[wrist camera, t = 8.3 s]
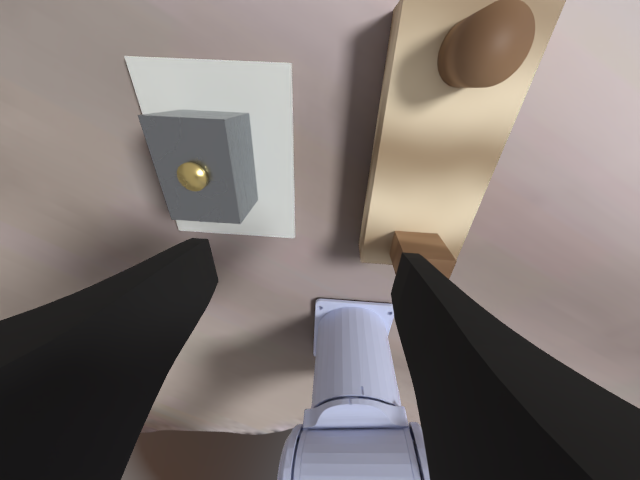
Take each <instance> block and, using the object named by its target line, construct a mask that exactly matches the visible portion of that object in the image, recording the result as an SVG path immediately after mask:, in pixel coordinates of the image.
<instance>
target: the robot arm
mask: <svg viewBox="0 0 640 480" xmlns="http://www.w3.org/2000/svg"><path fill="white" fill-rule="evenodd" d="M217 283H218V277H217V273H216V269H215V265H214V261H213V256H212V252H211V248H210V244H209V240H208V239H198V238H192V239H189V240H186V241H184V242H182V243H180V244H178V245H175V246H173V247H171V248H169V249H167V250H165V251H163V252H161V253H159V254H157V255H155V256H153V257H151V258H149V259H147V260H145V261H143V262H141V263H139V264H137V265H135V266H133V267H131V268H129V269H127V270H125V271H123V272H121V273H118V274H116V275H114V276H112V277H110V278H108V279H105V280H103V281H101V282H99V283H97V284H95V285H92V286H90V287H88V288H86V289H83V290H81V291H78V292H76V293H74V294H71V295H69V296H66V297H64V298H61V299H59V300H56V301H54V302H51V303H49V304H46V305H43V306H41V307H38V308H35V309H33V310H30V311H27V312H24V313H21V314H18V315H15V316H13V317H10V318H7V319H4V320H1V321H0V480H121V478H122V475H123V473H124V470H125V468H126V465H127V463H128V461H129V458H130V455H131V453H132V451H133V449H134V446H135V443H136V441H137V439H138V437H139V434H140V432H141V430H142V428H143V426H144V423H145V421H146V419H147V417H148V414H149V412H150V410H151V408H152V405H153V403H154V401H155V399H156V397H157V395H158V393H159V391H160V389H161V387H162V384H163V382H164V380H165V378H166V376H167V374H168V372H169V370H170V368H171V367H172V365H173V363H174V361H175V359H176V358H177V356H178V354H179V353H180V351H181V349H182V348H183V346H184V344H185V343H186V341H187V340H188V338H189V336H190V335H191V333H192V331H193V330H194V328H195V326H196V325H197V323H198V321H199V320H200V318H201V316H202V315H203V313H204V311H205V309H206V308H207V306H208V304H209V302H210V300H211V298H212V295H213V293H214V291H215V288H216V286H217ZM391 297H392V304H388V303H374V302H361V301H348V300H334V299H317V300H316V303H315V327H314V351H313V355H314V356H315V357H316V359H315V371H314V382H313V394H312V406H311V409H305V411H304V421H303V424H298V425H296V426H295V427H294V428H293V430H292V432H291V434H290V435H289V437H288V438H287V440H286V442H285V444H284V447H283V450H282V455H281V459H280V463H279V469H278V477H277V480H640V409H639V408H637V407H636V406H634V405H632V404H630V403H628V402H626V401H625V400H623V399H621V398H620V397H618V396H616V395H614V394H613V393H611V392H609V391H607V390H606V389H604V388H602V387H601V386H599V385H597V384H595V383H594V382H592V381H590V380H589V379H587V378H586V377H584V376H582V375H581V374H579V373H577V372H576V371H574V370H573V369H571V368H569V367H568V366H566V365H564V364H563V363H561V362H560V361H558V360H556V359H555V358H553V357H552V356H550V355H549V354H547V353H546V352H544V351H542V350H541V349H539V348H538V347H536V346H535V345H534V344H532V343H531V342H529V341H528V340H526V339H525V338H523V337H522V336H520V335H519V334H518V333H516V332H515V331H513V330H512V329H510V328H509V327H508V326H506V325H505V324H503V323H502V322H501V321H499V320H498V319H497V318H495V317H494V316H493V315H492V314H490V313H489V312H488V311H486V310H485V309H484V308H483V307H481V306H480V305H479V304H477V303H476V302H475V301H474V300H473V299H471V298H470V297H469V296H468V295H467V294H465V293H464V292H463V291H462V290H461V289H459V288H458V287H457V286H456V285H455V284H454V283H452V282H451V281H450V280H449V279H448V278H447V277H446V276H445V275H443V274H442V273H441V272H440V271H439V270H438V269H437V268H436V267H434V266H433V265H432V264H431V263H430V262H429V261H428V260H426V259H425V258H424V257H423V256H422V255H420V254H419V253H404V252H402V254H401V258H400V262H399V266H398V269H397V273H396V277H395V280H394V284H393V288H392V292H391ZM319 306H321V307H319ZM394 317H395V321H396V325H397V329H398V332H399V336H400V340H401V343H402V347H403V350H404V354H405V357H406V361H407V364H408V368H409V371H410V375H411V378H412V382H413V386H414V391H415V395H416V400H417V406H418V411H419V416H420V422H421V427H422V428H421V427H420V425H419V424H418V423H417V422H409V425H408V420H407V415H406V411H405V407H404V406H401V401H400V396H399V391H398V386H397V381H396V376H395V371H394V366H393V361H392V356H391V351H390V346H389V341H388V334H389V331H390V328H391V324H392V321H393V318H394Z"/></svg>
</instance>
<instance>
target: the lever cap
mask: <svg viewBox="0 0 640 480" xmlns="http://www.w3.org/2000/svg"><path fill="white" fill-rule="evenodd" d="M138 117H139V120H140V123H141V127H142V130H143V133H144V136H145V139H146V142H147V145H148V148H149V151H150V154H151V157H152V161H153V164H154V167H155V170H156V173H157V176H158V179H159V182H160V185H161V188H162V191H163V194H164V198H165V201H166V204H167V207H168V210H169V213H170V216H171V219H172V220H185V221H200V222H215V223H231V224H241V223H242V222H243V220H244V219H245V217H246V216H247V215H248V213H249V212H250V211H251V209H252V208H253V206H254V205H255V204H256V202H257V201H258V193H257V183H256V174H255V164H254V154H253V145H252V135H251V126H250V116H249V113H241V112H221V111H200V110H173V111H166V112H158V113H150V114H142V115H138Z"/></svg>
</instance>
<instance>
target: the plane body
mask: <svg viewBox="0 0 640 480" xmlns="http://www.w3.org/2000/svg"><path fill="white" fill-rule="evenodd" d="M565 2H566V0H400V1H399V3H398V4H397V5H396V7H395V8H394V10H393V16H392V22H391V29H390V36H389V43H388V49H387V56H386V63H385V70H384V77H383V83H382V90H381V97H380V104H379V110H378V117H377V124H376V131H375V137H374V144H373V151H372V158H371V164H370V171H369V178H368V185H367V192H366V198H365V205H364V212H363V219H362V225H361V232H360V239H359V252H360V260H361V263H374V264H389V265H393V267H394V270H395V274H396V273H397V269H398V266H399V262H400V258H401V254H402V252H404V253H419V254H420V255H422V256H423V257H424V258H425V259H426V260H428V261H429V262H430V263H431V264H432V265H433V266H434V267H436V268H437V269H438V270H439V271H440V272H441V273H442V274H443V275H445V276H446V277H447V278H448V279H449V278H450V276H451V273H452V271H453V268H454V266H455V264H456V260H457V257H458V255H459V252H460V250H461V248H462V245H463V243H464V241H465V238H466V236H467V234H468V231H469V229H470V226H471V224H472V222H473V219H474V217H475V215H476V212H477V210H478V207H479V205H480V203H481V200H482V198H483V196H484V193H485V191H486V189H487V186H488V184H489V181H490V179H491V177H492V174H493V172H494V170H495V167H496V165H497V163H498V160H499V158H500V155H501V153H502V151H503V148H504V146H505V144H506V141H507V139H508V136H509V134H510V132H511V129H512V127H513V125H514V122H515V120H516V118H517V115H518V113H519V110H520V108H521V106H522V103H523V101H524V99H525V96H526V94H527V92H528V89H529V87H530V84H531V82H532V80H533V77H534V75H535V73H536V70H537V68H538V65H539V63H540V61H541V58H542V56H543V54H544V51H545V49H546V47H547V44H548V42H549V39H550V37H551V35H552V32H553V30H554V28H555V25H556V23H557V21H558V18H559V16H560V13H561V11H562V9H563V6H564V4H565Z"/></svg>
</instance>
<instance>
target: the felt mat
mask: <svg viewBox="0 0 640 480" xmlns="http://www.w3.org/2000/svg"><path fill="white" fill-rule="evenodd" d="M124 57H125V60H126V63H127V66H128V70H129V73H130V76H131V79H132V82H133V86H134V89H135V92H136V95H137V98H138V102H139V105H140V108H141V111H142V114H150V113H158V112H166V111H173V110H200V111H221V112H241V113H249V116H250V126H251V135H252V145H253V154H254V164H255V174H256V183H257V193H258V201H257V202H256V204H255V205H254V206H253V208H252V209H251V211H250V212H249V213H248V215H247V216H246V217H245V219H244V220H243V222H242V223H241V224H231V223H215V222H200V221H185V220H176V223H177V226H178V229H179V231H193V232H208V233H223V234H238V235H253V236H268V237H283V238H295V198H294V145H293V92H292V63H280V62H256V61H233V60H209V59H185V58H161V57H137V56H124Z"/></svg>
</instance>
